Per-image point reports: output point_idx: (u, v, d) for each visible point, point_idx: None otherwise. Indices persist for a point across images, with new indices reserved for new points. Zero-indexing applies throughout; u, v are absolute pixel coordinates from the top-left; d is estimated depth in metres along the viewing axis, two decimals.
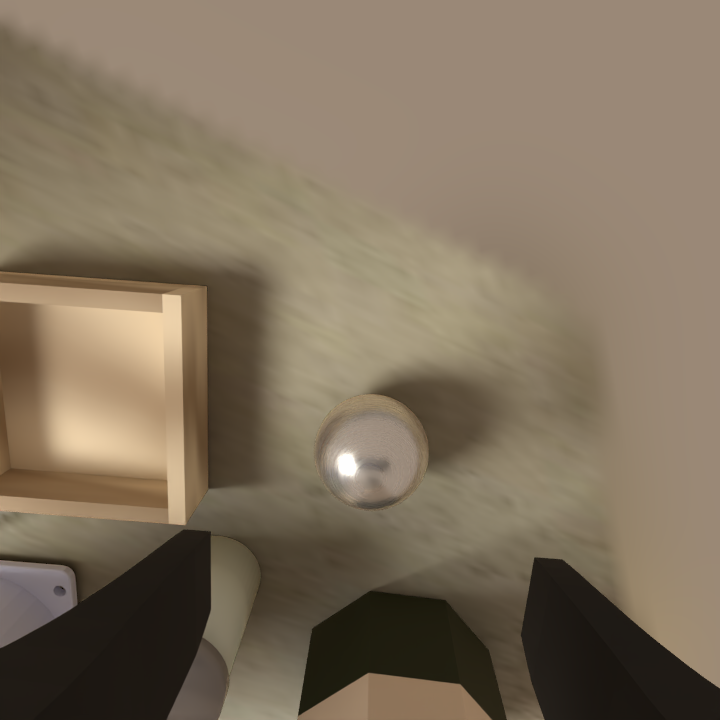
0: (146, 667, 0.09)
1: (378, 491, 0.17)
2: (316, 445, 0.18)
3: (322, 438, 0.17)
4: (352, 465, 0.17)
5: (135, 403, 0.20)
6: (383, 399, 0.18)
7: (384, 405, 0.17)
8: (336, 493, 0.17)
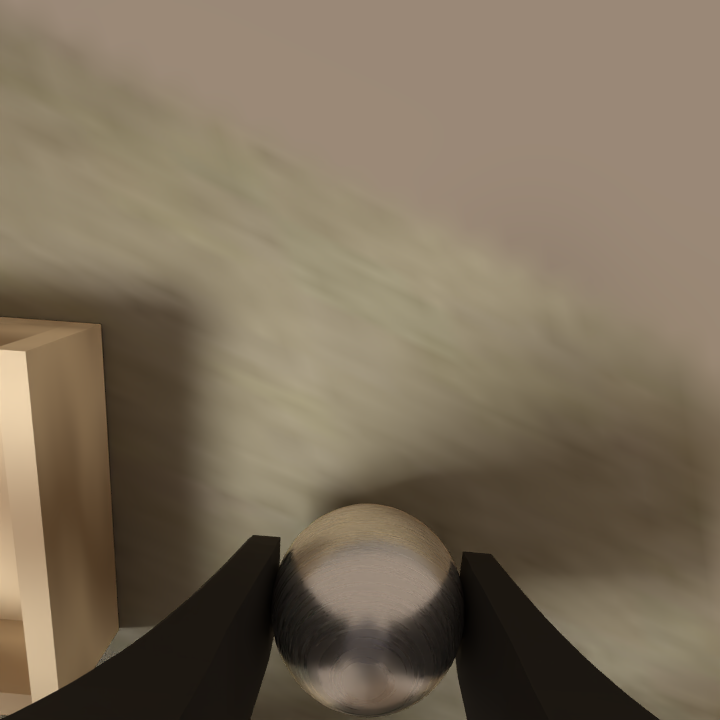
0: (237, 674, 0.09)
1: (379, 702, 0.09)
2: (273, 600, 0.10)
3: (281, 593, 0.10)
4: (331, 657, 0.09)
5: None
6: (388, 521, 0.10)
7: (389, 538, 0.10)
8: (306, 691, 0.10)
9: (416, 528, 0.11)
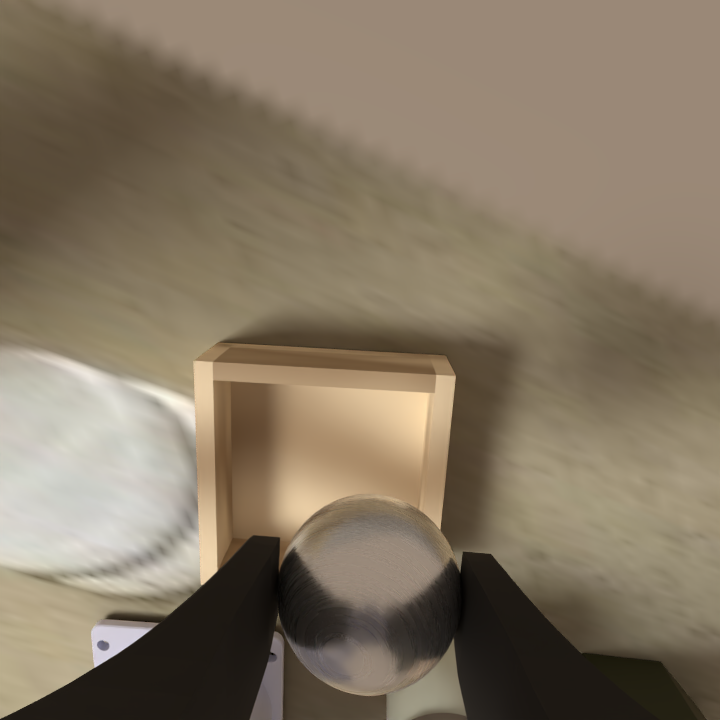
0: (237, 674, 0.09)
1: (358, 679, 0.10)
2: (278, 576, 0.11)
3: (282, 569, 0.11)
4: (314, 631, 0.10)
5: (367, 473, 0.19)
6: (383, 510, 0.11)
7: (379, 525, 0.10)
8: (301, 662, 0.11)
9: (411, 519, 0.11)
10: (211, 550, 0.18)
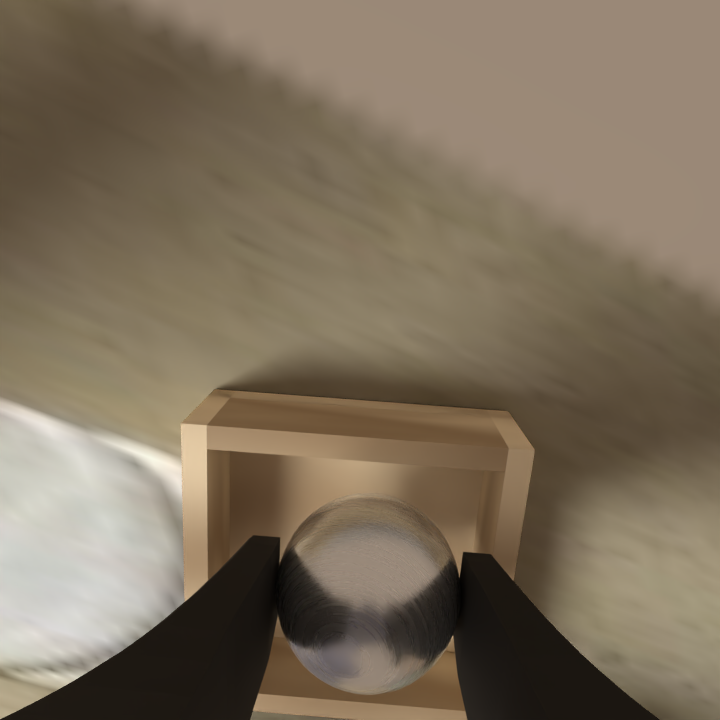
0: (237, 674, 0.09)
1: (357, 679, 0.10)
2: (277, 575, 0.11)
3: (281, 568, 0.11)
4: (312, 629, 0.10)
5: None
6: (381, 509, 0.11)
7: (378, 524, 0.10)
8: (300, 661, 0.11)
9: (410, 518, 0.11)
10: None
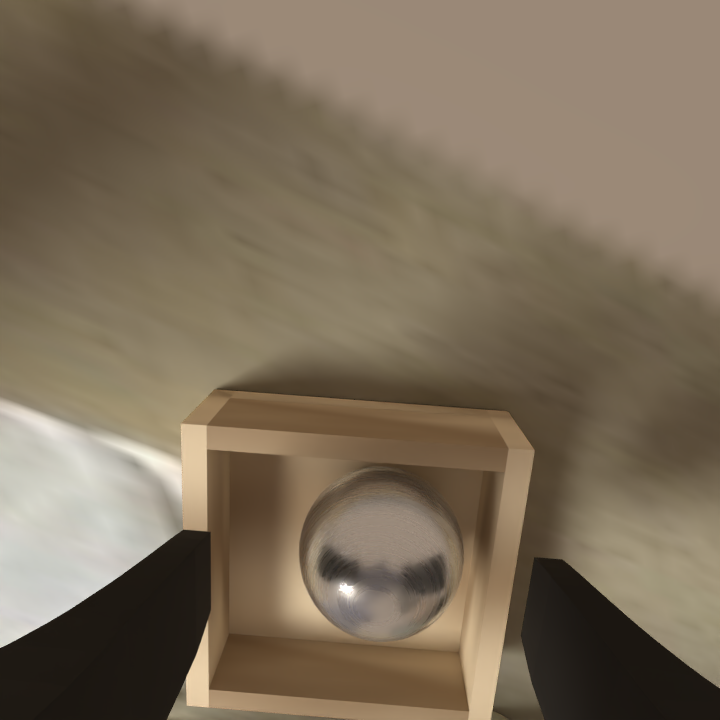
0: (146, 667, 0.09)
1: (388, 625, 0.11)
2: (300, 546, 0.12)
3: (306, 539, 0.12)
4: (347, 586, 0.11)
5: None
6: (394, 477, 0.12)
7: (395, 490, 0.12)
8: (329, 620, 0.12)
9: (419, 483, 0.12)
10: (201, 664, 0.14)
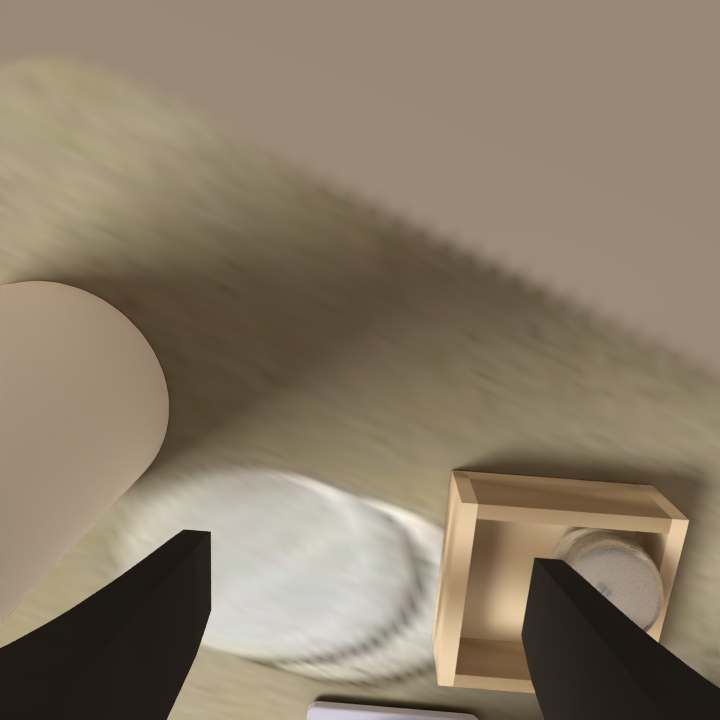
0: (146, 667, 0.09)
1: (645, 629, 0.18)
2: None
3: None
4: (626, 613, 0.18)
5: None
6: (616, 536, 0.19)
7: (626, 545, 0.19)
8: None
9: (627, 536, 0.20)
10: (452, 657, 0.21)
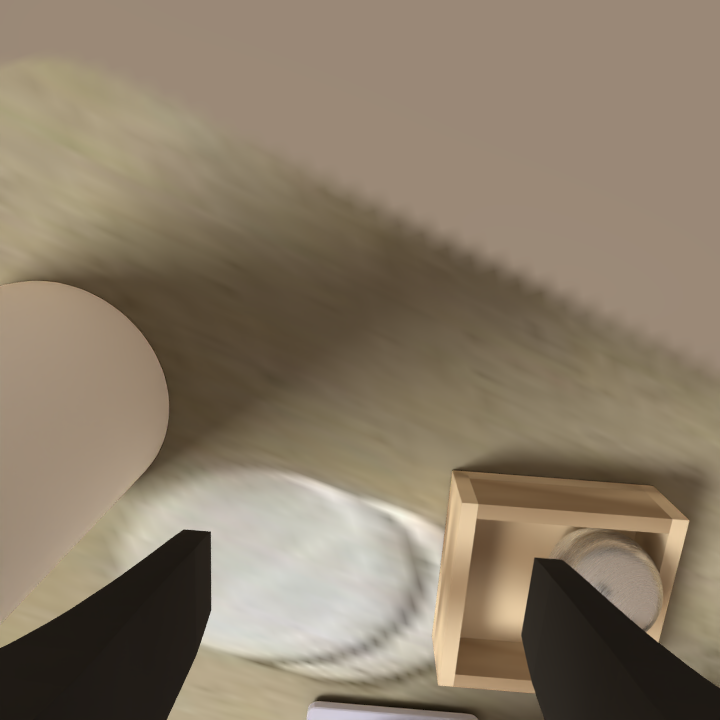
0: (146, 667, 0.09)
1: (644, 630, 0.18)
2: None
3: None
4: (625, 613, 0.18)
5: None
6: (616, 536, 0.19)
7: (625, 545, 0.19)
8: None
9: (626, 536, 0.20)
10: (452, 657, 0.21)
